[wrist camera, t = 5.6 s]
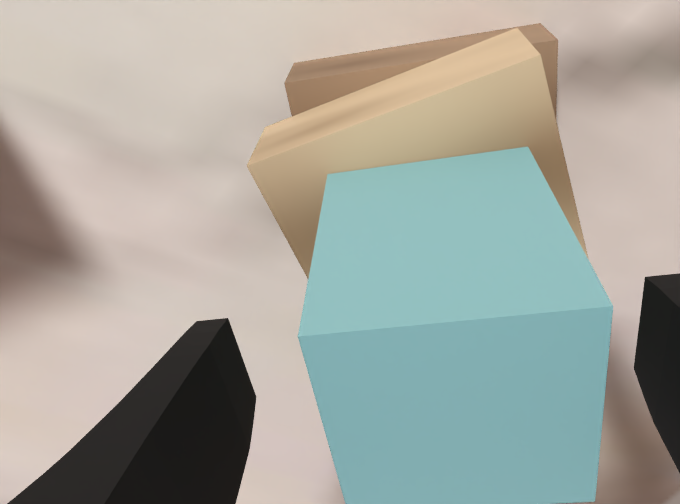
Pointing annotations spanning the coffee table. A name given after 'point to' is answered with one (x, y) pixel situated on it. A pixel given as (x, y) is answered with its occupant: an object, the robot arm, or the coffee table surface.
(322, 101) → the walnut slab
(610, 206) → the coffee table surface
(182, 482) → the robot arm
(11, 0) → the coffee table surface
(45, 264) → the coffee table surface
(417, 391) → the teal block
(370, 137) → the oak slab
